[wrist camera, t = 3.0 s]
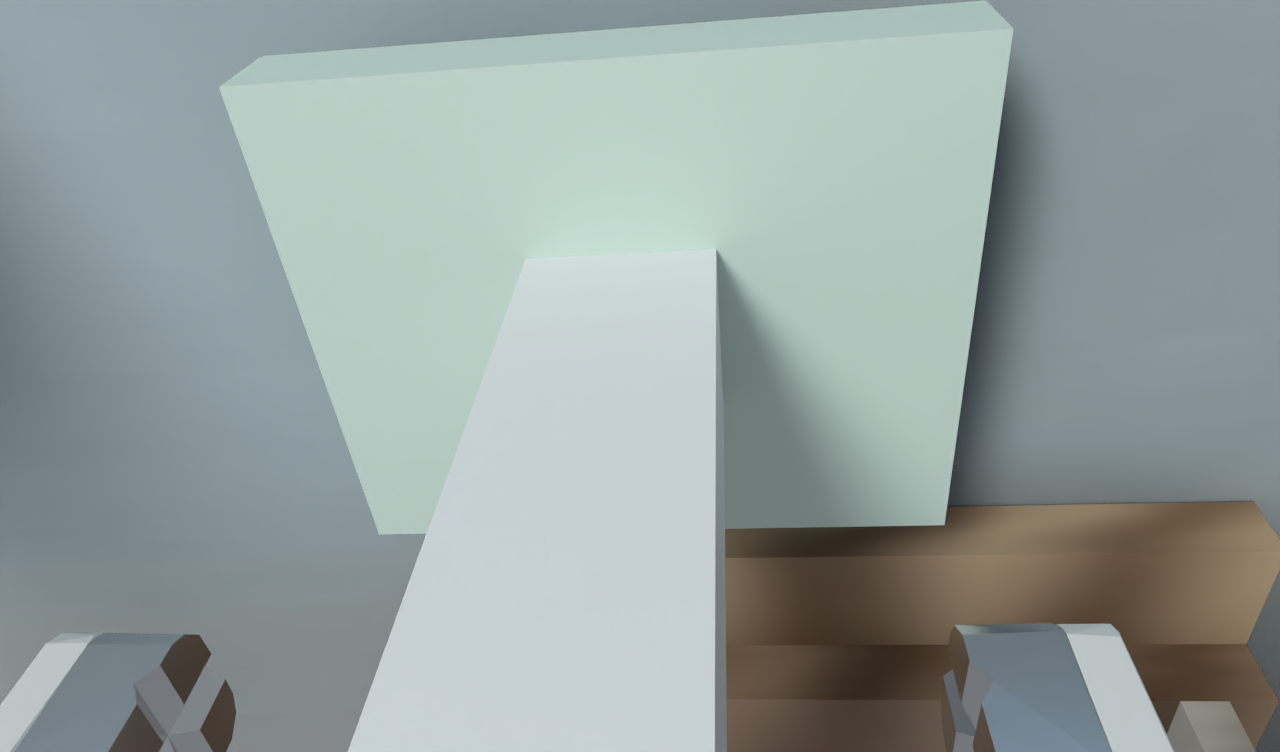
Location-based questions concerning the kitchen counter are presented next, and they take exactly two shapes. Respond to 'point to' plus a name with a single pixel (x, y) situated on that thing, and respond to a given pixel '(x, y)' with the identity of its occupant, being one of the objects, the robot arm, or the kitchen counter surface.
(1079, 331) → the kitchen counter surface
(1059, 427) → the kitchen counter surface
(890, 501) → the mint green slab
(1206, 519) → the tray
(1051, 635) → the robot arm
